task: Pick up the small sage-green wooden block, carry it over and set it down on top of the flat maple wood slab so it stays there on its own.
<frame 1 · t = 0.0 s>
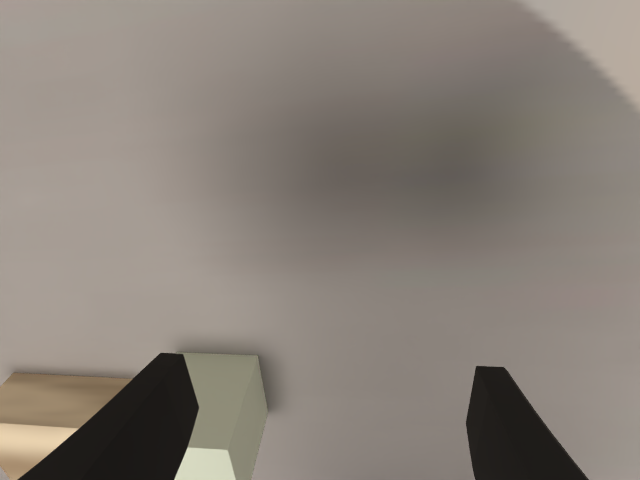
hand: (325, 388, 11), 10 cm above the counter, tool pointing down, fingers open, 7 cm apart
maple slab: (100, 417, 30), on the counter
sage block: (224, 382, 26), on the counter
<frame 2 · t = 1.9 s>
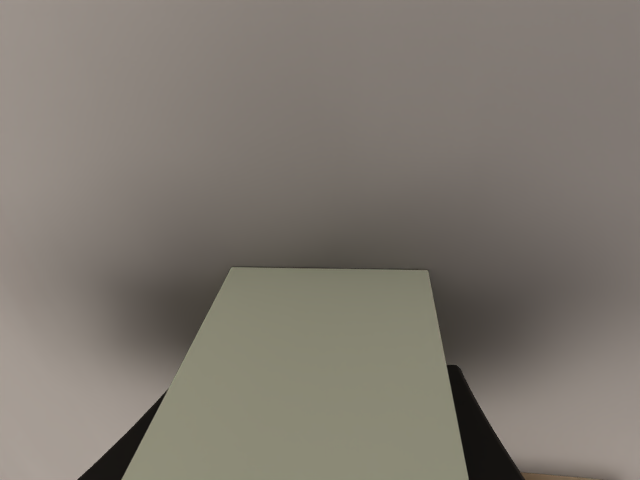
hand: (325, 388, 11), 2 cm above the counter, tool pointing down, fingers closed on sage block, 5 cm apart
sage block: (331, 341, 12), on the counter, touching gripper
when the fingers open (7 cm above the counter, at t = 5.0 s): sage block drops 2 cm, resting on maple slab.
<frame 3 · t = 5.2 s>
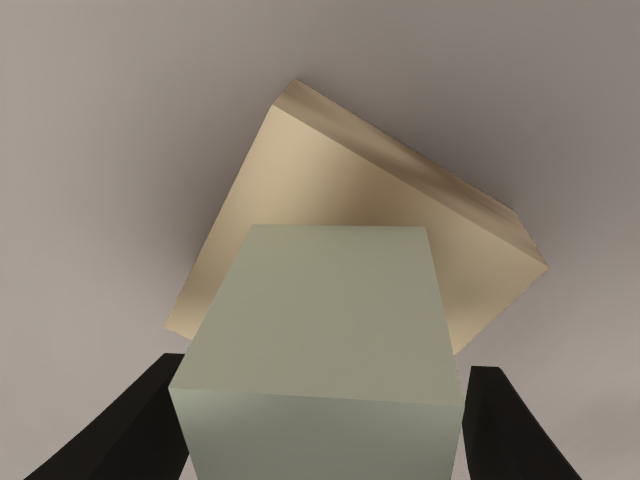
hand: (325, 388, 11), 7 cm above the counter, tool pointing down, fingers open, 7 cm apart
maple slab: (343, 238, 17), on the counter, touching sage block
sage block: (338, 294, 13), point 4 cm above the counter, touching maple slab
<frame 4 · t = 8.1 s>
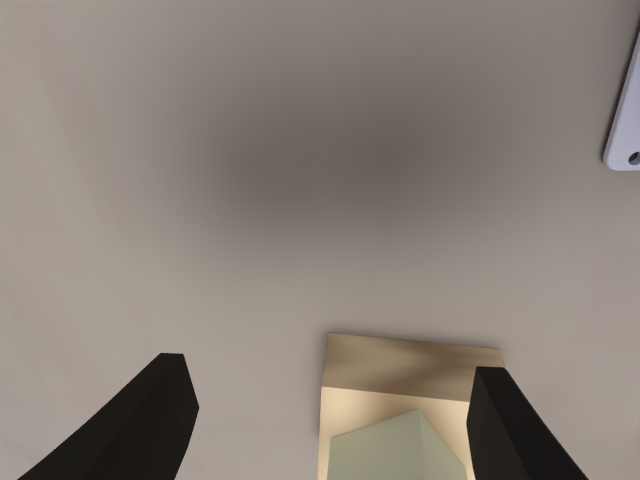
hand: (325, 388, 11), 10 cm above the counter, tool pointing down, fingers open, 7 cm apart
maple slab: (401, 392, 25), on the counter, touching sage block
sage block: (397, 452, 22), point 4 cm above the counter, touching maple slab
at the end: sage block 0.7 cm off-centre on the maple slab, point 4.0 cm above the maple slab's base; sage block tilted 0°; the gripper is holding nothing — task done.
